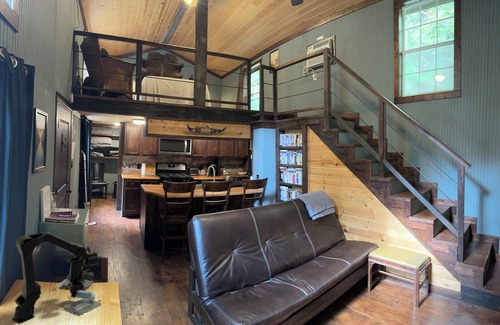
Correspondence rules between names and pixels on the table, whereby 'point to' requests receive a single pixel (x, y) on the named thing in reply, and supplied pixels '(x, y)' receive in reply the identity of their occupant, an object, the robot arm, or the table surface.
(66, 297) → the table surface
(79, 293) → the lever
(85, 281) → the graphics card
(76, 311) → the lid
